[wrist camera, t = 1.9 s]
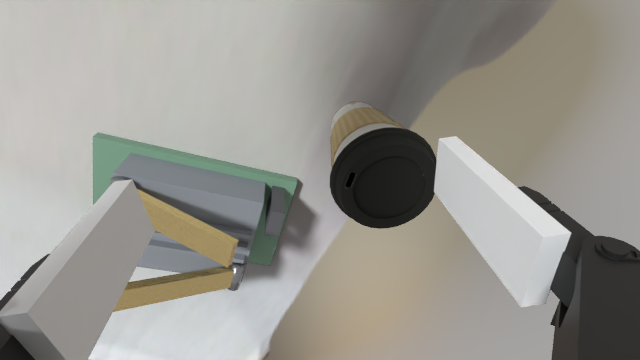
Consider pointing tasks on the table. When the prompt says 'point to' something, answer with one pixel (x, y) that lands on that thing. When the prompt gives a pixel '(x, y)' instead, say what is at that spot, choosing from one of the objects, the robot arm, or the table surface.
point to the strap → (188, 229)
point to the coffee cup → (379, 168)
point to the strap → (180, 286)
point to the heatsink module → (198, 199)
